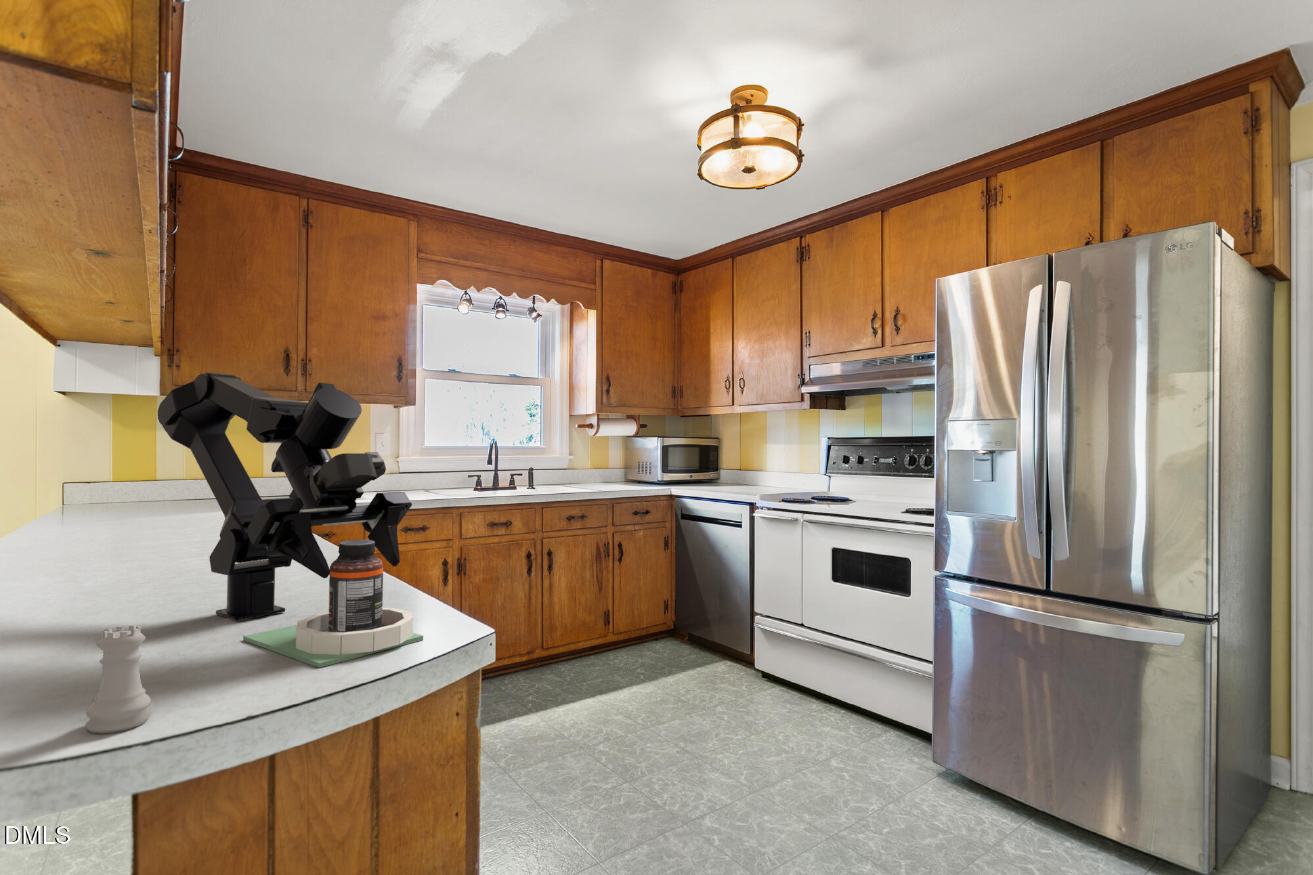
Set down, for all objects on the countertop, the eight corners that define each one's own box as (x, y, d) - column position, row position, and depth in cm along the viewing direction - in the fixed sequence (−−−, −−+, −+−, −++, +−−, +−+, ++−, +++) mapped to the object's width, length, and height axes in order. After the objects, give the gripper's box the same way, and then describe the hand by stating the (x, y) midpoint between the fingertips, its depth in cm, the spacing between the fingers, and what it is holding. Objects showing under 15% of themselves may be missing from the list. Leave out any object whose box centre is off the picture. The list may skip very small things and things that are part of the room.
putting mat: (243, 640, 81) (243, 635, 81) (345, 618, 91) (345, 614, 91) (319, 667, 71) (319, 663, 71) (423, 639, 82) (423, 635, 82)
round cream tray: (275, 641, 79) (275, 622, 79) (372, 619, 89) (373, 602, 89) (334, 661, 72) (334, 641, 72) (432, 635, 82) (433, 617, 82)
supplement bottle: (331, 630, 82) (333, 539, 82) (383, 627, 84) (385, 537, 84) (324, 644, 77) (327, 545, 77) (380, 640, 79) (382, 544, 79)
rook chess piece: (114, 738, 54) (117, 638, 54) (69, 732, 55) (72, 634, 55) (165, 716, 58) (168, 624, 58) (123, 711, 59) (126, 620, 59)
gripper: (263, 427, 75) (317, 533, 69) (404, 432, 91) (458, 519, 85) (226, 494, 79) (274, 600, 73) (368, 487, 95) (417, 574, 89)
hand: (363, 569), depth 80 cm, fingers open, 9 cm apart
